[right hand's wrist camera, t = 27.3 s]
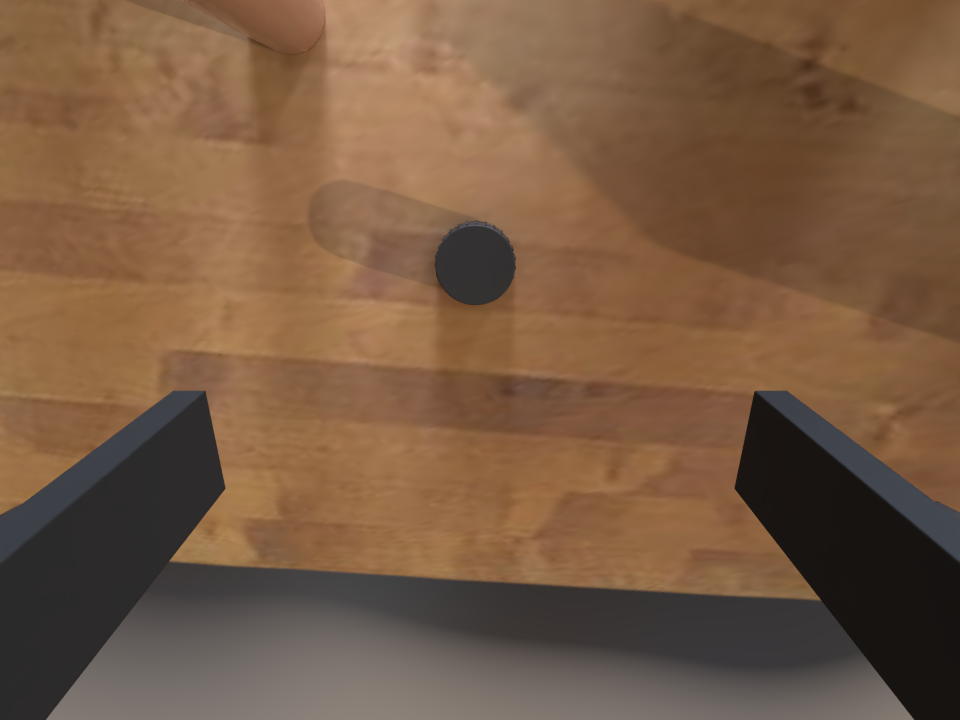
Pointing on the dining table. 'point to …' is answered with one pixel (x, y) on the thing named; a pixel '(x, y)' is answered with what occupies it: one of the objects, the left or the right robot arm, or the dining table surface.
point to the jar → (270, 21)
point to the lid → (475, 263)
